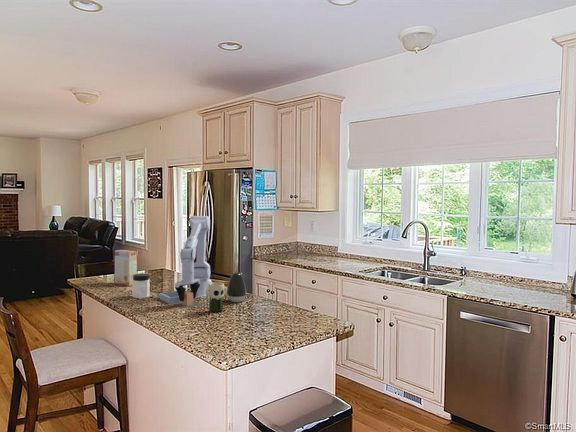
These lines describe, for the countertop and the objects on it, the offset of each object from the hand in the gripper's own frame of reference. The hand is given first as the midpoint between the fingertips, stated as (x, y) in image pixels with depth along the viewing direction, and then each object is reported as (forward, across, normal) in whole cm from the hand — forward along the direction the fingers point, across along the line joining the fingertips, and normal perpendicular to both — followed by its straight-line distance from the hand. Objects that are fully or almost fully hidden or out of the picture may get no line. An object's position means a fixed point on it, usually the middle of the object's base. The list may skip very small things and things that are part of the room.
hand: (187, 299), depth 213 cm
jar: (+3, +2, -34) cm, 34 cm away
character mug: (+3, -1, +18) cm, 19 cm away
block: (+3, 0, 0) cm, 3 cm away
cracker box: (+3, -12, -69) cm, 70 cm away
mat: (+3, 0, 0) cm, 3 cm away
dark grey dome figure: (+3, -22, +13) cm, 26 cm away
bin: (+3, -4, -12) cm, 13 cm away
